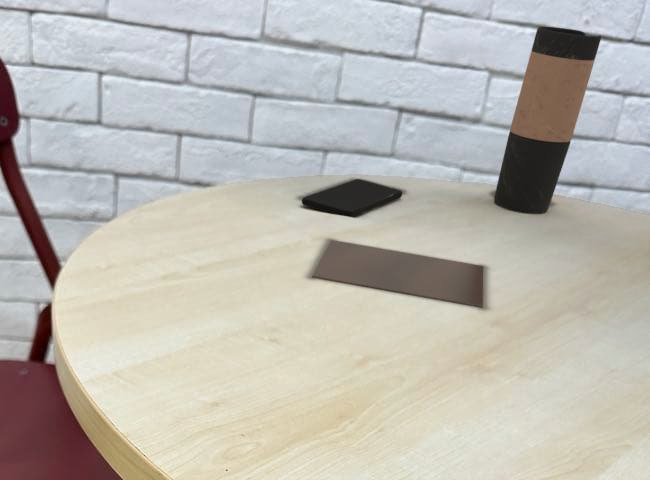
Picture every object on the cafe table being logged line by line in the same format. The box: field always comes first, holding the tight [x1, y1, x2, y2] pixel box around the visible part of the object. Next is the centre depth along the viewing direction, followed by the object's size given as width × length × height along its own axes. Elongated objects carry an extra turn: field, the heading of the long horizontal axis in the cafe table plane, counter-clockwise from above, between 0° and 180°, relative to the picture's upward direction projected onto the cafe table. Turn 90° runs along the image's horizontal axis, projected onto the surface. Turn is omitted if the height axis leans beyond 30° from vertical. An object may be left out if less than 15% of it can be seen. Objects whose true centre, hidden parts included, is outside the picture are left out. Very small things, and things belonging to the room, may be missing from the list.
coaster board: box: [311, 239, 485, 309], centre depth 83 cm, size 16×12×1 cm
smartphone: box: [301, 178, 403, 218], centre depth 105 cm, size 7×1×15 cm
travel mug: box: [493, 26, 602, 215], centre depth 106 cm, size 8×8×20 cm
